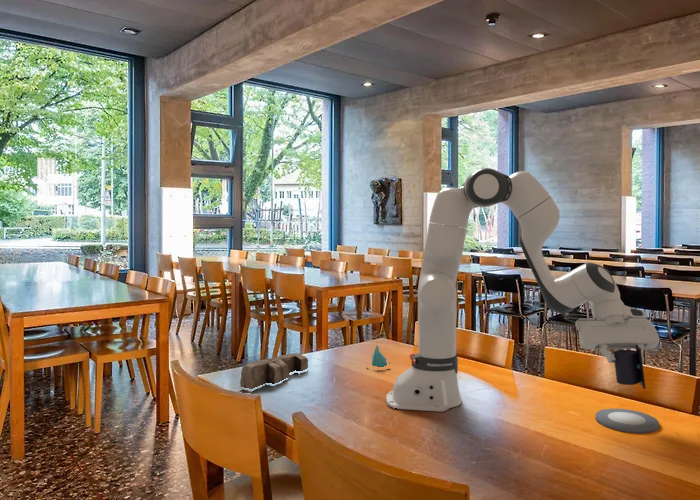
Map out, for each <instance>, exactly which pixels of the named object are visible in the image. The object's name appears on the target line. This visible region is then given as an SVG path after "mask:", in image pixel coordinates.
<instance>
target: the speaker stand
mask: <svg viewBox="0 0 700 500" xmlns="http://www.w3.org/2000/svg"><path fill="white" fill-rule="evenodd" d="M595 421H596V422H597V423H599V425H601V426H603V427H606V428H609V429H611V430H615V431H619V432H623V433H631V434H632V433H633V434H647V433H653V432H655V431H657V430H659V427H660V425H659V424H660V423H659V420H658V419H657V418H656V417H654V416H652V415H650V414H647V413H644V412H642V411H638V410H633V409H627V408H605V409H601V410H597V412H596V413H595Z"/></svg>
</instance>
